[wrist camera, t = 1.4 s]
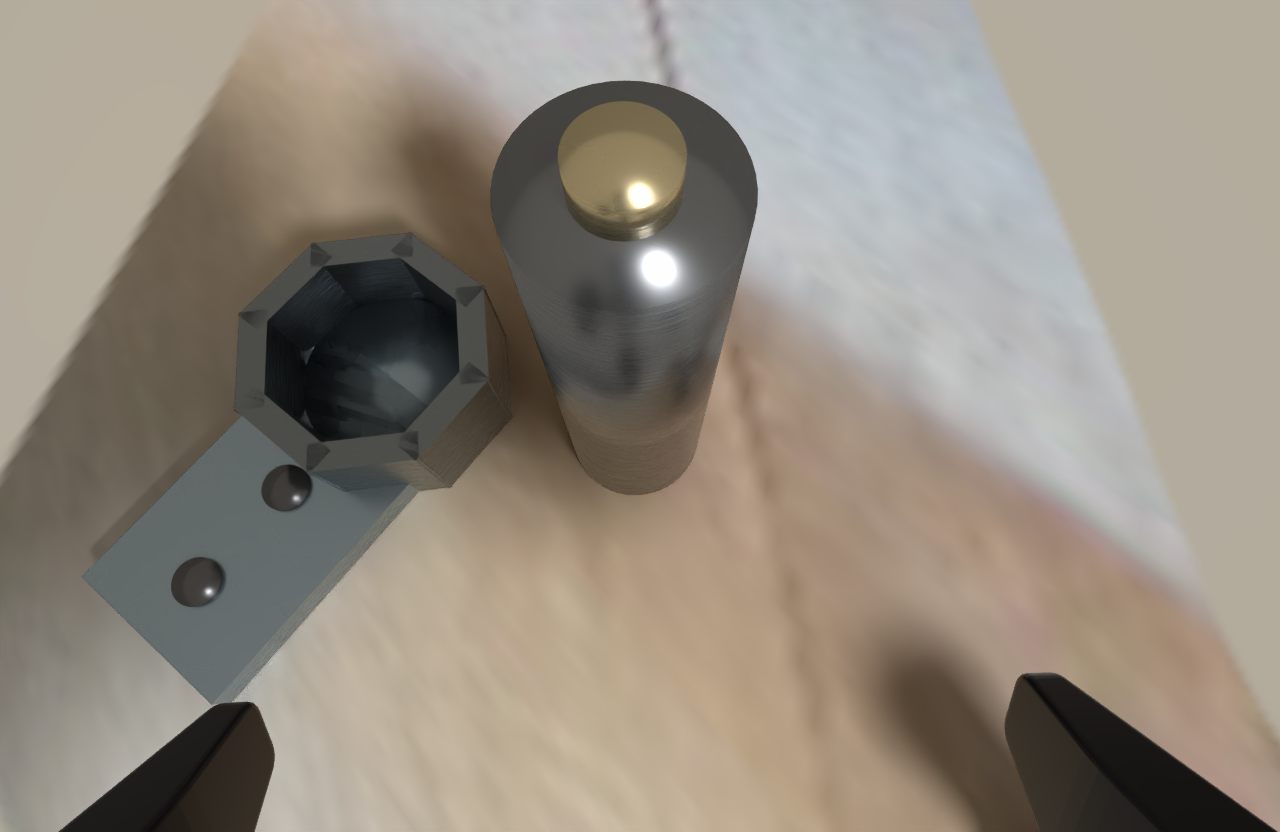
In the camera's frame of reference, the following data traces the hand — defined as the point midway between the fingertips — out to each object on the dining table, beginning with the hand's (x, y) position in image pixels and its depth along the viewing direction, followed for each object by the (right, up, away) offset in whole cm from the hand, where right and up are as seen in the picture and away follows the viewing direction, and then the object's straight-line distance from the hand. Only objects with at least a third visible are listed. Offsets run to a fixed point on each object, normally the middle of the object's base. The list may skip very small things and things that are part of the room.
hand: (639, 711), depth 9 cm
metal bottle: (0, +3, +15) cm, 15 cm away
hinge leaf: (-10, +2, +14) cm, 17 cm away
